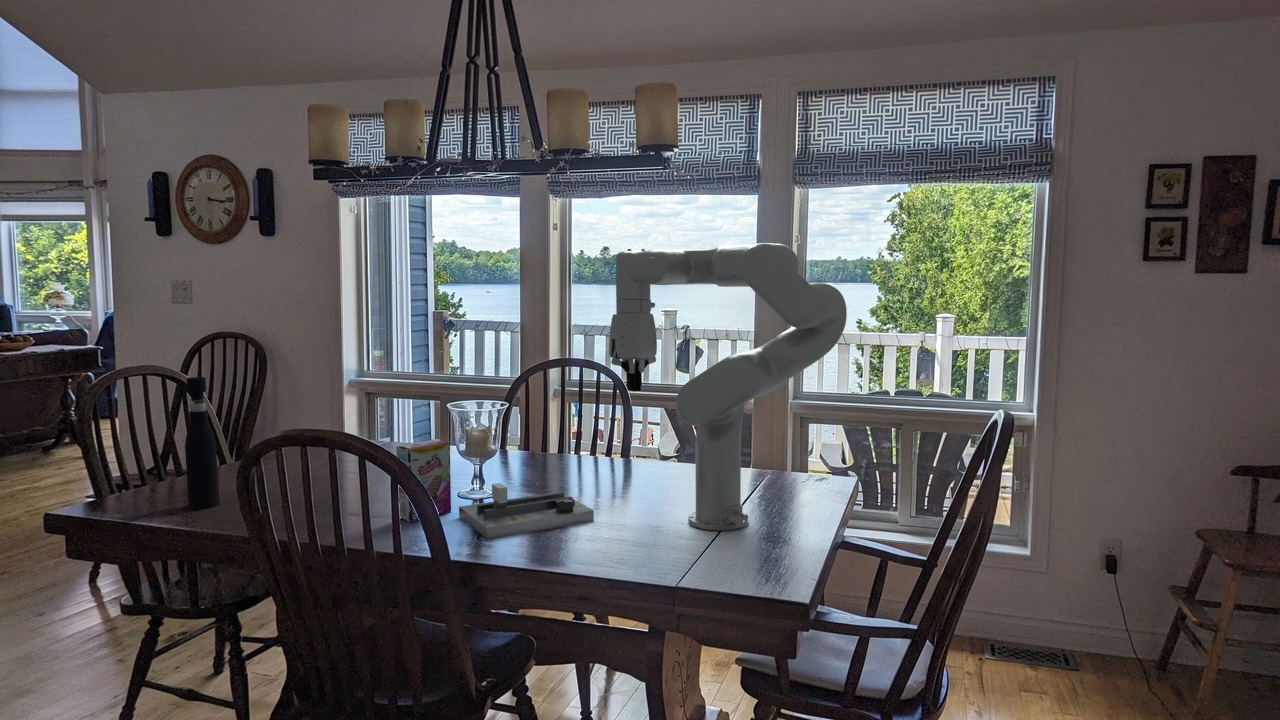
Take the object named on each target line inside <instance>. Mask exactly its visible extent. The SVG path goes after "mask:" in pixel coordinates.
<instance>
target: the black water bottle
mask: <svg viewBox="0 0 1280 720" xmlns="http://www.w3.org/2000/svg"><path fill="white" fill-rule="evenodd" d="M186 389H187V393H188V394H190V398H191V399H190V402H192V403H190V405H189V407H190V408H189V410H190V411H189V412H188V413H189V415H188V418H189V424H188V428H187V431H186V437H185V443H184V453H185V468H186V469H185V470H186V482H187V483H186V484H187V497H188V507H189V509H192V510H204V509H203V508H205V509H211V508H215V507H218V506H219V505H220V490H219V488H220V487H219V474H218V473H219V471H218V457H217V456H218V454H217V443H216V442H217V441H216V439H215V436H214V432H213V429H212V428H211V425H210V423H209V415H208V410H207V407H206V406H207V404H206V402H204V400H205V399H204V398H205V397H204V393H205V392H207V380H206V377H205V376H194V377H187V378H186ZM214 506H215V507H214ZM210 507H211V508H210Z"/></svg>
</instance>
